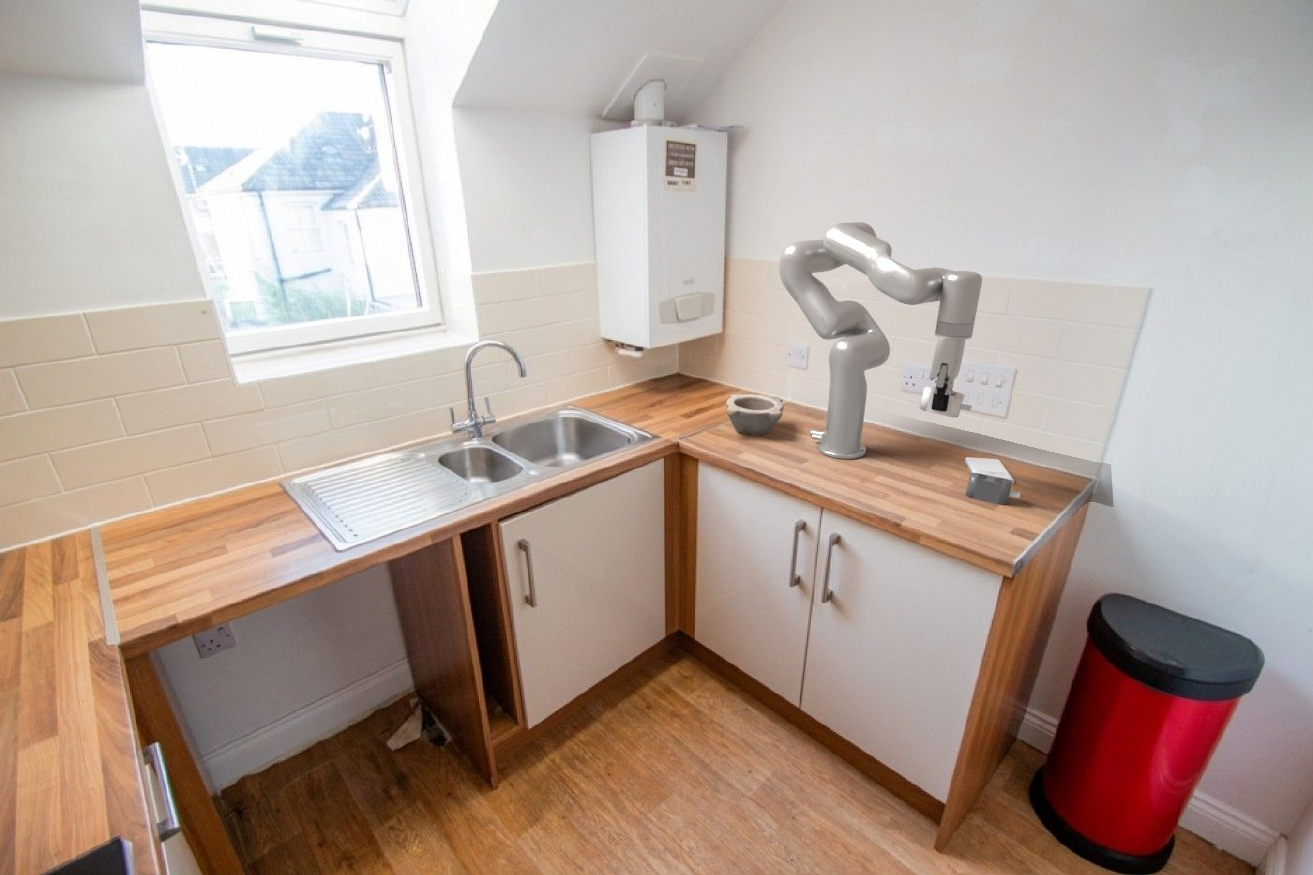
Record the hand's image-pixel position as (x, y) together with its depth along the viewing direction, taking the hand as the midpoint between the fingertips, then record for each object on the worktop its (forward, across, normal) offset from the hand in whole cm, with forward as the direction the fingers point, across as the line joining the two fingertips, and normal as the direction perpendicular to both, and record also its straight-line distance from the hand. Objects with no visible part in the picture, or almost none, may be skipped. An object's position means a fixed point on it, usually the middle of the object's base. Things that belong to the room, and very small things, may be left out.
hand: (940, 407), depth 140 cm
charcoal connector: (+19, +2, +13) cm, 23 cm away
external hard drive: (+20, -14, +12) cm, 27 cm away
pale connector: (+1, 0, 0) cm, 1 cm away
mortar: (+20, -9, -51) cm, 55 cm away
